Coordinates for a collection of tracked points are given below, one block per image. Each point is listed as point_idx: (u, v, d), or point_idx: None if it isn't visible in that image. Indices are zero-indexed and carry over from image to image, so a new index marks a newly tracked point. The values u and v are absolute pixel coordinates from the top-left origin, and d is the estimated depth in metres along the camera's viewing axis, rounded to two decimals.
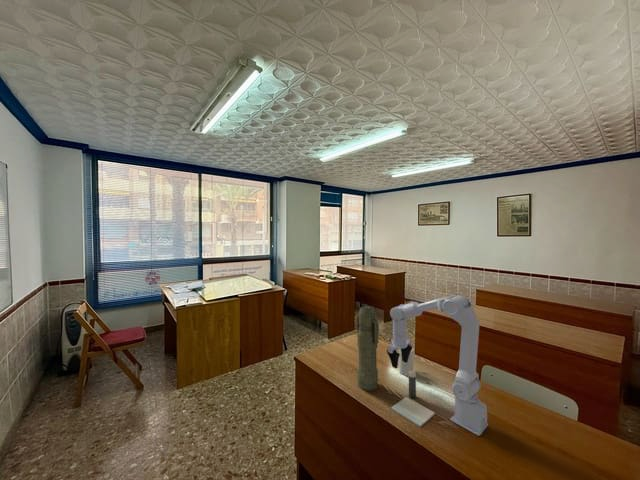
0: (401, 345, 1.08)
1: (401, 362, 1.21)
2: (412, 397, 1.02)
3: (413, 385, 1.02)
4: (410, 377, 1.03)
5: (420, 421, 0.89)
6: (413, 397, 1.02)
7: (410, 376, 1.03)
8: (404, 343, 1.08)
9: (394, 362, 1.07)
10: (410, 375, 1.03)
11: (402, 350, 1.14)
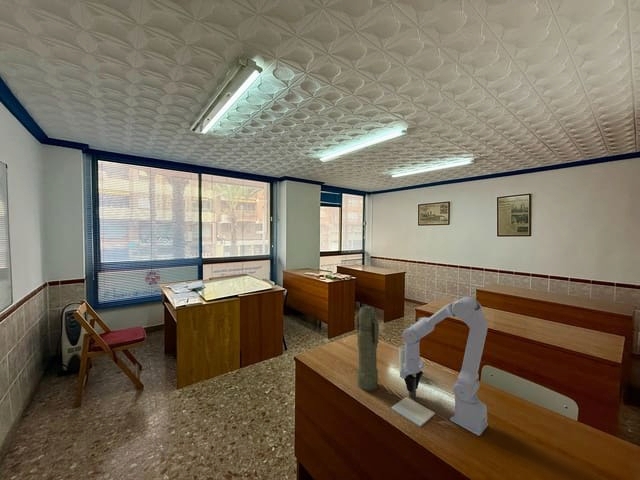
0: (414, 370, 1.01)
1: (401, 362, 1.21)
2: (412, 397, 1.03)
3: None
4: None
5: (420, 421, 0.89)
6: (413, 397, 1.02)
7: None
8: (417, 367, 1.01)
9: (409, 386, 1.02)
10: None
11: None
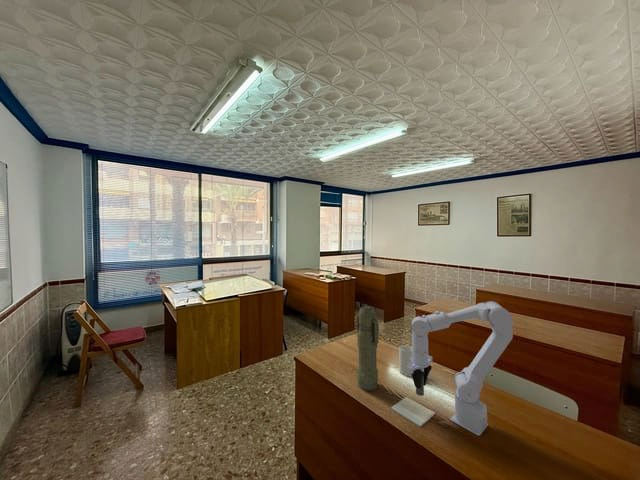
0: (422, 364, 0.92)
1: (401, 362, 1.21)
2: (419, 394, 0.93)
3: None
4: None
5: (420, 421, 0.89)
6: (420, 394, 0.93)
7: None
8: (426, 361, 0.92)
9: (417, 382, 0.93)
10: None
11: None
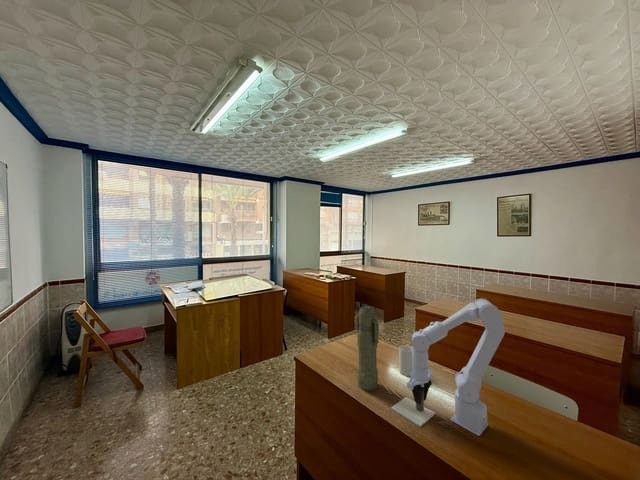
0: (422, 379, 0.92)
1: (401, 362, 1.21)
2: (419, 409, 0.93)
3: None
4: None
5: (420, 421, 0.89)
6: (420, 409, 0.93)
7: None
8: (426, 377, 0.92)
9: (417, 397, 0.93)
10: None
11: None
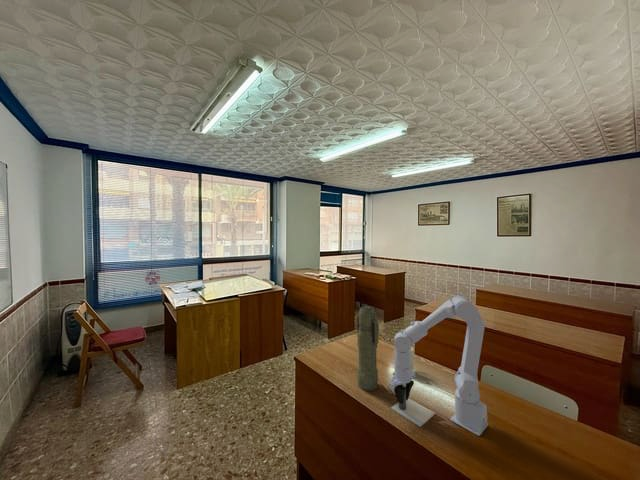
0: (404, 379, 0.93)
1: None
2: (402, 408, 0.95)
3: None
4: None
5: (420, 421, 0.89)
6: (403, 408, 0.95)
7: None
8: (408, 377, 0.93)
9: (399, 397, 0.94)
10: None
11: None
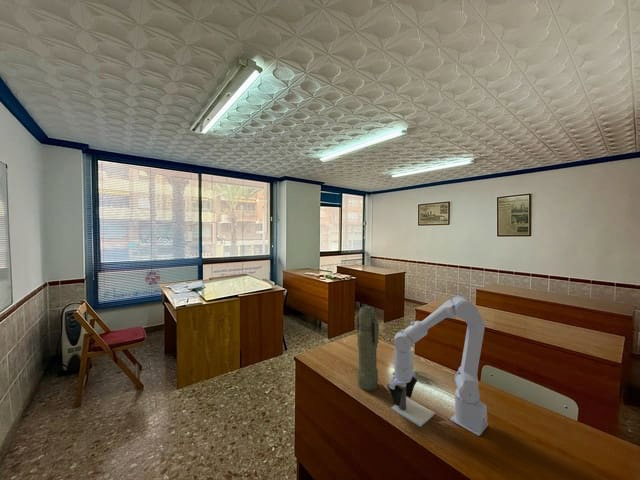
0: (404, 379, 0.93)
1: None
2: (402, 408, 0.95)
3: (403, 395, 0.95)
4: (399, 387, 0.95)
5: (420, 421, 0.89)
6: (403, 408, 0.95)
7: (399, 385, 0.95)
8: (408, 377, 0.93)
9: (396, 399, 0.93)
10: None
11: None
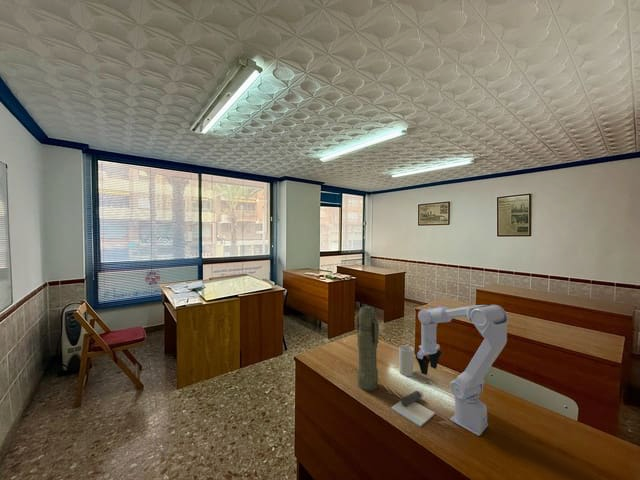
0: (431, 350, 1.01)
1: (401, 362, 1.21)
2: (405, 399, 0.97)
3: (414, 395, 0.99)
4: (416, 391, 1.02)
5: (420, 421, 0.89)
6: (406, 400, 0.97)
7: (417, 390, 1.02)
8: (434, 348, 1.02)
9: (424, 368, 1.01)
10: (418, 390, 1.03)
11: (430, 355, 1.08)
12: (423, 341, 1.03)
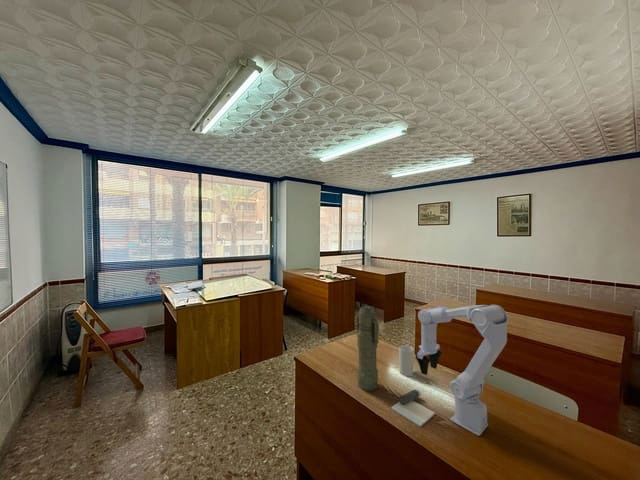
0: (431, 350, 1.01)
1: (401, 362, 1.21)
2: (401, 396, 0.99)
3: (410, 392, 1.01)
4: (413, 390, 1.04)
5: (420, 421, 0.89)
6: (402, 396, 0.98)
7: None
8: (434, 348, 1.02)
9: (424, 368, 1.01)
10: (414, 389, 1.04)
11: (430, 355, 1.08)
12: (423, 341, 1.03)
